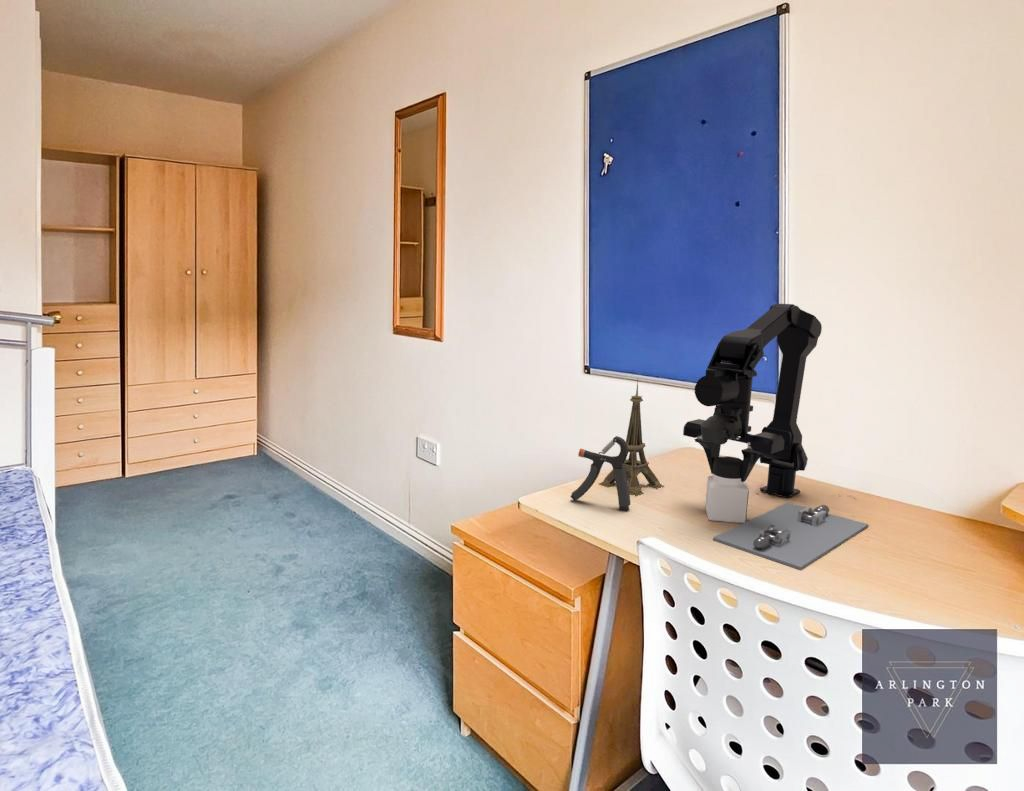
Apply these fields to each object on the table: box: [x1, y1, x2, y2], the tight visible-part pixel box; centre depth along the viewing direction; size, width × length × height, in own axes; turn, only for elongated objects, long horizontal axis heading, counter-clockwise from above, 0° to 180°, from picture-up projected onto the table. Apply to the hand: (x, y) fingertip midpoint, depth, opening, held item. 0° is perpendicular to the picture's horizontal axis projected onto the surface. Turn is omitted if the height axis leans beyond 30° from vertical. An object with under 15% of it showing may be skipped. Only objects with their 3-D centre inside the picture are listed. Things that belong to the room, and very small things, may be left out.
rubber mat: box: [712, 502, 869, 571], centre depth 122 cm, size 30×16×1 cm, turn 132°
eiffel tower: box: [598, 379, 665, 497], centre depth 146 cm, size 11×11×25 cm
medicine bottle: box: [704, 455, 750, 524], centre depth 129 cm, size 7×7×12 cm
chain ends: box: [753, 504, 830, 550], centre depth 122 cm, size 29×4×2 cm, turn 132°
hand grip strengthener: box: [570, 435, 631, 512], centre depth 133 cm, size 2×12×15 cm, turn 65°
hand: (728, 477), depth 129 cm, fingers closed on medicine bottle, 6 cm apart
